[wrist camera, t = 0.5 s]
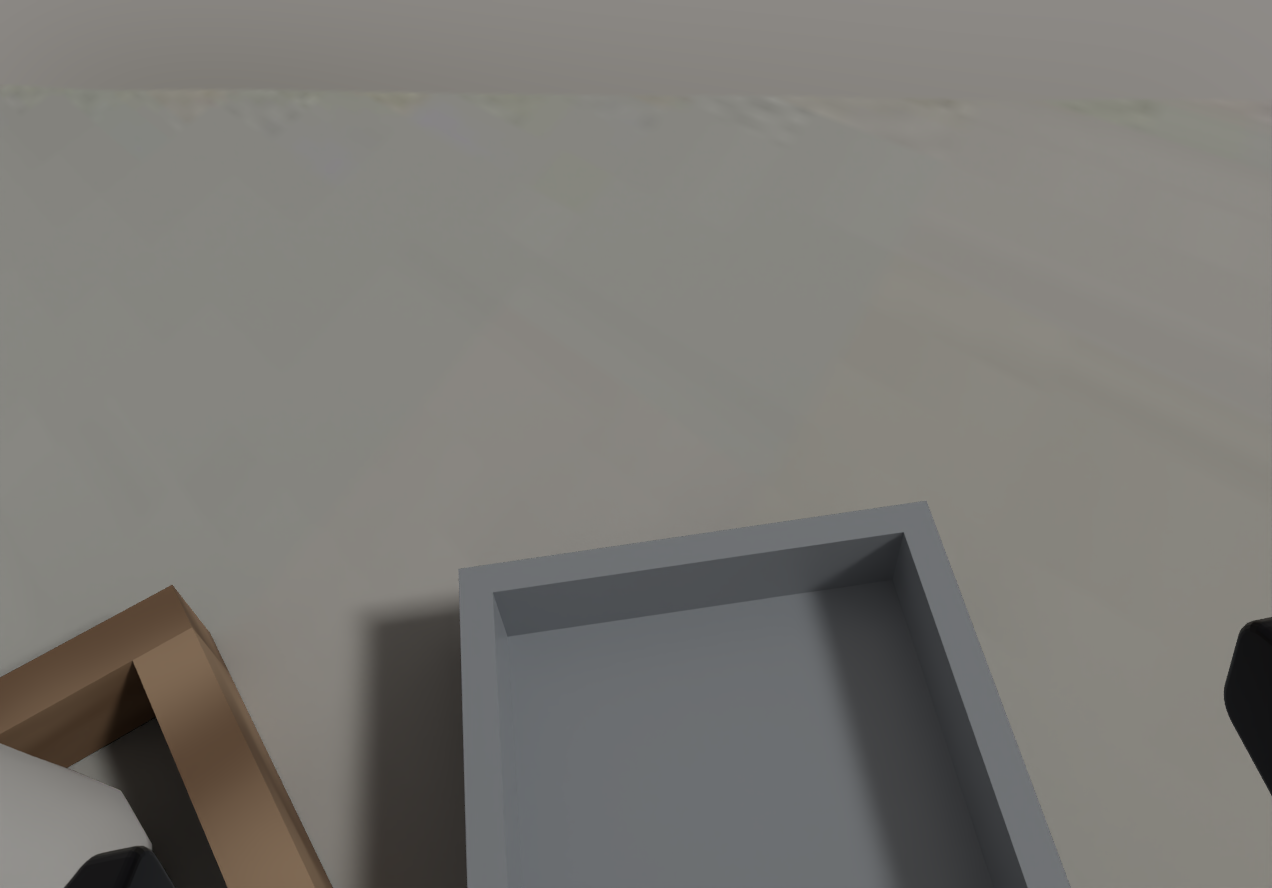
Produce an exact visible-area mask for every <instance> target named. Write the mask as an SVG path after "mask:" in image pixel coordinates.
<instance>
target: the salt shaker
mask: <svg viewBox="0 0 1272 888" xmlns="http://www.w3.org/2000/svg"><path fill="white" fill-rule="evenodd" d="M133 846H145V847H147V848H149V849H151V850H152V844H151V842H150V840H149V838H148V836H147V835H146V833H145V831H144V829H143V828H142V826H141V824H140V822H139V821H138V819H137V817H136V815H135V814H134V812H133V810H132V808H131V806H130V805H129V803H128V801H127V800H126V798H125V797H124V795H123V793H122V792H121V790H119V789H116V788H114V787H111V786H109V785H107V784H104V783H102V782H100V781H97V780H95V779H93V778H90V777H88V776H85V775H83V774H81V773H78V772H76V771H74V770H71V769H68V768H65V767H62V766H59V765H57V764H54V763H51V762H48V761H45V760H42V759H40V758H37V757H34V756H31V755H29V754H26V753H24V752H21V751H18V750H16V749H13V748H11V747H8V746H6V745H3V744H1V743H0V888H64V887H65V886H66V884H67V883H68V882H69V881H70V879H71V878H72V877H73V876H74V874H75V873H76V872H77V871H78V869H79V868H80V867H81V866H82V865H83V864H84V863H85V862H86V861H87V860H89V859H90V858H91V857H93V856H94V855H97V854H100V853H103V852H108V851H113V850H118V849H123V848H128V847H133Z"/></svg>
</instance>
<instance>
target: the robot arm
mask: <svg viewBox="0 0 1272 888" xmlns="http://www.w3.org/2000/svg"><path fill="white" fill-rule="evenodd" d="M1224 701H1225V706H1226V709H1227V712H1228V715H1229V717H1230V720H1231V722H1232V724H1233V725H1234V727H1235V729H1236V731H1237V733H1238V735H1239V736H1240V738H1241V740H1242V742H1243V744H1244V746H1245V747H1246V749H1247V751H1248V753H1249V755H1250V757H1251V758H1252V760H1253V762H1254V764H1255V766H1256V768H1257V769H1258V771H1259V773H1260V775H1261V777H1262V779H1263V780H1264V782H1265V784H1266V786H1267V788H1268V790H1269V791H1270V793H1271V795H1272V617H1270V618H1265V619H1260V620H1255V621H1251V622H1249V623H1247V624H1246V625H1245V626H1244V627H1243V628H1242V629H1241V630H1240V633H1239V635H1238V639H1237V642H1236V646H1235V650H1234V653H1233V657H1232V661H1231V664H1230V668H1229V672H1228V675H1227V679H1226V683H1225V687H1224ZM64 888H175V886H174V885H173V883H172V881H171V880H170V878H169V877H168V875H167V873H166V872H165V870H164V868H163V867H162V865H161V863H160V862H159V860H158V858H157V857H156V855H155V854H154V853H153V851H152V850H151V849H149V848H147V847H145V846H133V847H128V848H123V849H118V850H113V851H108V852H103V853H100V854H97V855H94V856H93V857H91V858H90V859H89V860H87V861H86V862H85V863H84V864H83V865H82V866H81V867H80V868H79V869H78V871H77V872H76V873H75V874H74V876H73V877H72V878H71V879H70V881H69V882H68V883H67V884H66V886H65V887H64Z"/></svg>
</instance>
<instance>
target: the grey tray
mask: <svg viewBox="0 0 1272 888" xmlns="http://www.w3.org/2000/svg"><path fill="white" fill-rule="evenodd" d="M459 602H460V639H461V676H462V712H463V749H464V785H465V822H466V858H467V888H1071V887H1070V884H1069V881H1068V879H1067V876H1066V873H1065V871H1064V868H1063V865H1062V863H1061V860H1060V857H1059V855H1058V852H1057V849H1056V847H1055V844H1054V841H1053V839H1052V836H1051V833H1050V831H1049V828H1048V825H1047V823H1046V820H1045V817H1044V814H1043V812H1042V809H1041V806H1040V804H1039V801H1038V798H1037V796H1036V793H1035V790H1034V788H1033V785H1032V782H1031V780H1030V777H1029V774H1028V772H1027V769H1026V766H1025V764H1024V761H1023V758H1022V756H1021V753H1020V750H1019V748H1018V745H1017V742H1016V740H1015V737H1014V734H1013V732H1012V729H1011V726H1010V723H1009V721H1008V718H1007V715H1006V713H1005V710H1004V707H1003V705H1002V702H1001V699H1000V697H999V694H998V691H997V689H996V686H995V683H994V681H993V678H992V675H991V673H990V670H989V667H988V665H987V662H986V659H985V657H984V654H983V651H982V649H981V646H980V643H979V640H978V638H977V635H976V632H975V630H974V627H973V624H972V622H971V619H970V616H969V614H968V611H967V608H966V606H965V603H964V600H963V598H962V595H961V592H960V590H959V587H958V584H957V582H956V579H955V576H954V574H953V571H952V568H951V566H950V563H949V560H948V557H947V555H946V552H945V549H944V547H943V544H942V541H941V539H940V536H939V533H938V531H937V528H936V525H935V523H934V520H933V517H932V515H931V512H930V509H929V507H928V504H927V501H921V502H914V503H908V504H901V505H894V506H887V507H880V508H873V509H866V510H860V511H853V512H846V513H839V514H832V515H825V516H818V517H812V518H805V519H798V520H791V521H784V522H777V523H770V524H764V525H757V526H750V527H743V528H736V529H729V530H722V531H716V532H709V533H702V534H695V535H688V536H681V537H674V538H668V539H661V540H654V541H647V542H640V543H633V544H626V545H620V546H613V547H606V548H599V549H592V550H585V551H578V552H572V553H565V554H558V555H551V556H544V557H537V558H530V559H524V560H517V561H510V562H503V563H496V564H489V565H482V566H476V567H469V568H462V569H459Z"/></svg>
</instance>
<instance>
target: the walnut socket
mask: <svg viewBox="0 0 1272 888" xmlns="http://www.w3.org/2000/svg"><path fill="white" fill-rule="evenodd" d="M154 717H156V718H157V720H158V722H159V725H160V727H161V730H162V732H163V734H164V737H165V739H166V742H167V744H168V746H169V749H170V751H171V753H172V756H173V758H174V761H175V763H176V765H177V768H178V770H179V773H180V775H181V777H182V780H183V782H184V785H185V787H186V789H187V792H188V794H189V796H190V799H191V801H192V804H193V806H194V808H195V811H196V813H197V816H198V818H199V820H200V823H201V825H202V828H203V830H204V832H205V835H206V837H207V839H208V842H209V844H210V847H211V849H212V851H213V854H214V856H215V859H216V861H217V863H218V866H219V868H220V871H221V873H222V875H223V878H224V880H225V883H226V885H227V887H228V888H333V887H332V885H331V883H330V881H329V879H328V877H327V875H326V873H325V871H324V869H323V866H322V864H321V862H320V860H319V858H318V856H317V854H316V852H315V850H314V848H313V846H312V844H311V842H310V840H309V837H308V835H307V833H306V831H305V829H304V827H303V825H302V823H301V821H300V819H299V817H298V815H297V813H296V810H295V808H294V806H293V804H292V802H291V800H290V798H289V796H288V794H287V792H286V790H285V788H284V786H283V784H282V781H281V779H280V777H279V775H278V773H277V771H276V769H275V767H274V765H273V763H272V761H271V759H270V757H269V754H268V752H267V750H266V748H265V746H264V744H263V742H262V740H261V738H260V736H259V734H258V732H257V730H256V728H255V725H254V723H253V721H252V719H251V717H250V715H249V713H248V711H247V709H246V707H245V705H244V703H243V701H242V698H241V696H240V694H239V692H238V690H237V688H236V686H235V684H234V682H233V680H232V678H231V676H230V674H229V672H228V669H227V667H226V665H225V663H224V661H223V659H222V657H221V655H220V653H219V651H218V649H217V647H216V645H215V642H214V640H213V638H212V636H211V634H210V632H209V631H208V630H207V629H206V627H205V626H204V625H203V623H202V622H201V621H200V620H199V618H198V617H197V616H196V615H195V613H194V612H193V611H192V609H191V608H190V607H189V606H188V604H187V603H186V602H185V600H184V599H183V598H182V597H181V595H180V594H179V593H178V592H177V590H176V589H175V588H174V586H173V585H171V586H169V587H167V588H165V589H163V590H162V591H160V592H158V593H156V594H154V595H152V596H150V597H149V598H147V599H145V600H143V601H141V602H139V603H137V604H136V605H134V606H132V607H130V608H128V609H126V610H124V611H123V612H121V613H119V614H117V615H115V616H113V617H112V618H110V619H108V620H106V621H104V622H102V623H100V624H99V625H97V626H95V627H93V628H91V629H89V630H87V631H86V632H84V633H82V634H80V635H78V636H76V637H74V638H73V639H71V640H69V641H67V642H65V643H63V644H62V645H60V646H58V647H56V648H54V649H52V650H50V651H49V652H47V653H45V654H43V655H41V656H39V657H37V658H36V659H34V660H32V661H30V662H28V663H26V664H24V665H23V666H21V667H19V668H17V669H15V670H13V671H11V672H10V673H8V674H6V675H4V676H2V677H0V743H1V744H3V745H6V746H8V747H11V748H13V749H16V750H18V751H21V752H24V753H26V754H29V755H31V756H34V757H37V758H40V759H42V760H45V761H48V762H51V763H54V764H57V765H59V766H62V767H65V768H68V767H69V766H71V765H73V764H74V763H76V762H78V761H80V760H81V759H83V758H85V757H87V756H88V755H90V754H92V753H94V752H95V751H97V750H99V749H100V748H102V747H104V746H106V745H107V744H109V743H111V742H113V741H114V740H116V739H118V738H120V737H121V736H123V735H125V734H126V733H128V732H130V731H132V730H133V729H135V728H137V727H139V726H140V725H142V724H144V723H146V722H147V721H149V720H151V719H152V718H154Z"/></svg>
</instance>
